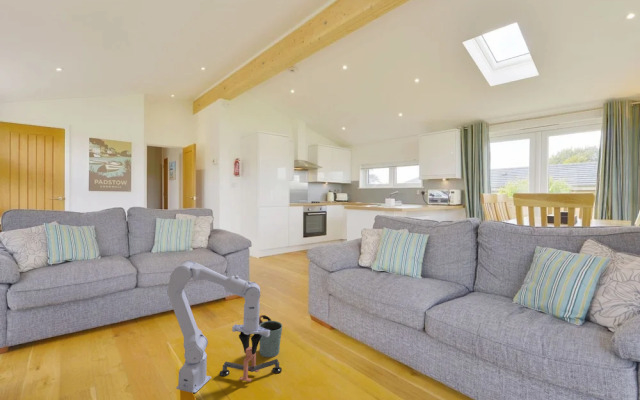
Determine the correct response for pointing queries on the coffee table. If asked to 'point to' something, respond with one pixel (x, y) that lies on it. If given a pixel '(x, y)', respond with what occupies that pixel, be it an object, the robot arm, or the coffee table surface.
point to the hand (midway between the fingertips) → (250, 352)
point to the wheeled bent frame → (250, 368)
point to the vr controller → (263, 318)
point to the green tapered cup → (271, 339)
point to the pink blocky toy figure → (253, 363)
